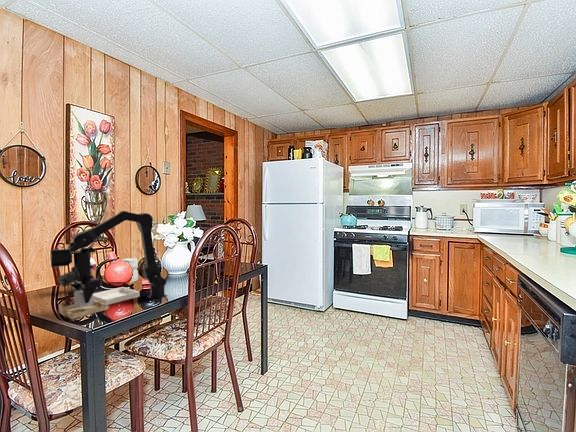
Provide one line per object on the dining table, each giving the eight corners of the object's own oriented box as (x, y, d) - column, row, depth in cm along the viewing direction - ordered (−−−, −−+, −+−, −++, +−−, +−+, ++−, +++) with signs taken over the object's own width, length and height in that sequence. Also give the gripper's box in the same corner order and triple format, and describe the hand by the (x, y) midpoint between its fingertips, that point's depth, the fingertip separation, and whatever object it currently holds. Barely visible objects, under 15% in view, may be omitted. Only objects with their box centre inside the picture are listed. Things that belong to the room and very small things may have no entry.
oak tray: (108, 309, 131) (108, 305, 131) (73, 319, 121) (72, 314, 120) (93, 304, 139) (93, 299, 139) (58, 312, 128) (58, 308, 128)
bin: (139, 297, 149) (139, 291, 149) (106, 306, 136) (105, 300, 136) (122, 291, 157) (122, 286, 157) (89, 299, 145) (89, 294, 145)
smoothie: (92, 287, 166) (91, 249, 165) (100, 289, 161) (99, 250, 160) (74, 290, 159) (73, 251, 158) (82, 293, 154) (80, 253, 153)
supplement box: (129, 283, 173) (129, 260, 172) (117, 282, 175) (117, 260, 174) (138, 280, 180) (138, 258, 180) (127, 279, 182) (126, 257, 181)
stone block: (93, 304, 130) (92, 290, 130) (79, 308, 126) (79, 293, 126) (87, 302, 133) (87, 288, 133) (74, 305, 129) (73, 291, 129)
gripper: (49, 264, 127) (51, 302, 128) (69, 270, 117) (71, 312, 118) (80, 260, 137) (81, 295, 137) (101, 265, 126) (103, 303, 127)
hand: (83, 301), depth 130 cm, fingers closed on stone block, 5 cm apart
